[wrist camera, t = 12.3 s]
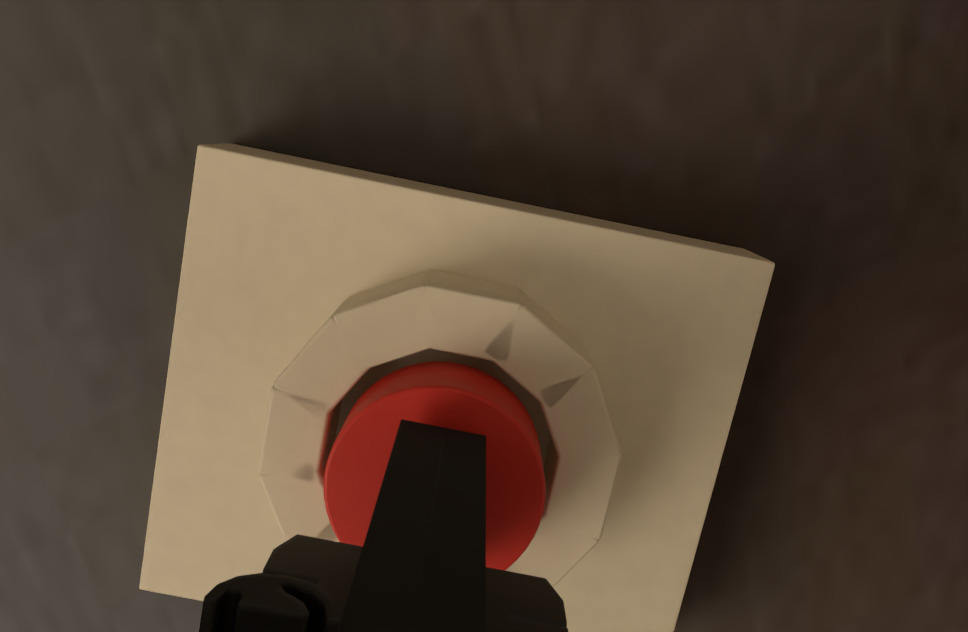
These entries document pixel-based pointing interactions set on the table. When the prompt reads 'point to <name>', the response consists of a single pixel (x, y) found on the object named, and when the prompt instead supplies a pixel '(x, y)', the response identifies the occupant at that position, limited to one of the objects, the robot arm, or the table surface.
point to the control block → (445, 338)
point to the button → (450, 404)
